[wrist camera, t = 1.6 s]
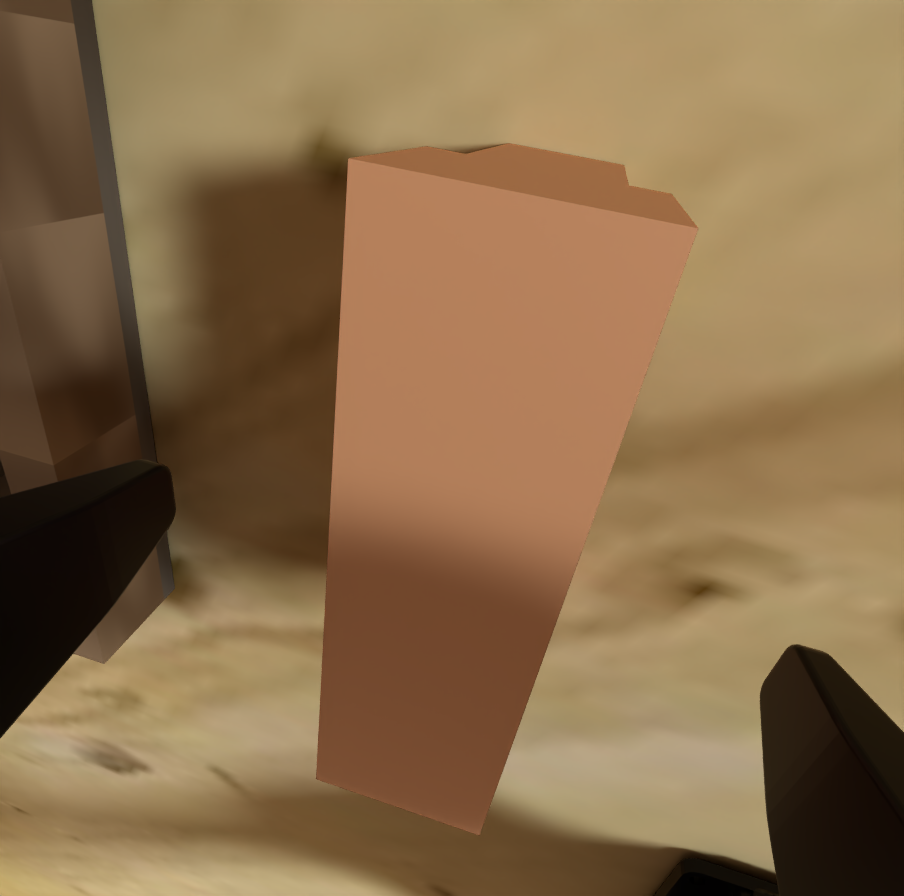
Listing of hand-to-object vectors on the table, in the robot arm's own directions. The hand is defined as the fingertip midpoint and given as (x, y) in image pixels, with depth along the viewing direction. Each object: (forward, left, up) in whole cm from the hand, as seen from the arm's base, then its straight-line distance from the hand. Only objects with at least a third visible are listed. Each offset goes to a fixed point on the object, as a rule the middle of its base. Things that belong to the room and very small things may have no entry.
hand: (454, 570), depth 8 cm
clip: (0, 0, -5) cm, 5 cm away
